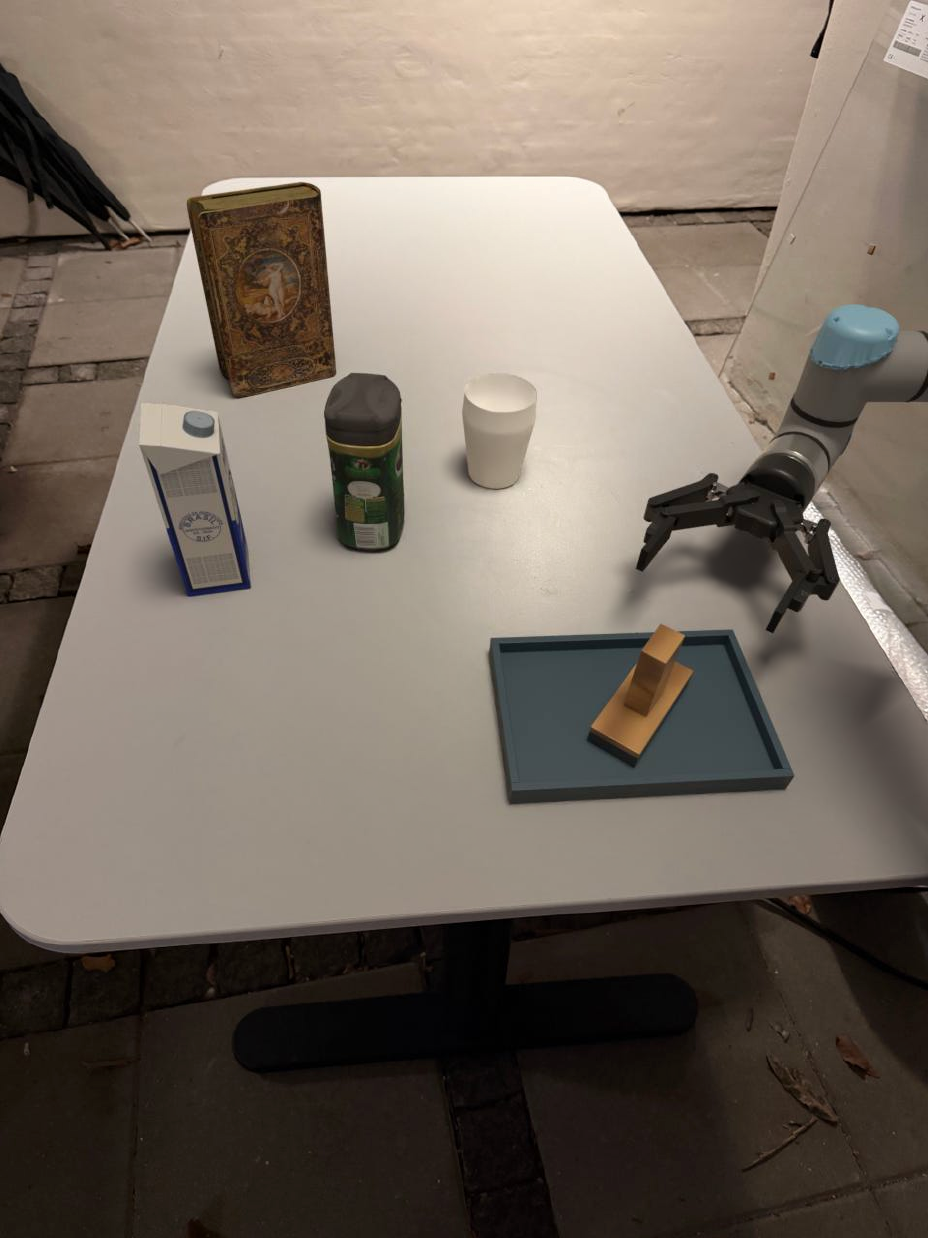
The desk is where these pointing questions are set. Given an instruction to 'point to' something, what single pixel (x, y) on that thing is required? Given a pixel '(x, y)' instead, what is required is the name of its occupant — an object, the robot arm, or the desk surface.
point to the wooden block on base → (643, 699)
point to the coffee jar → (366, 460)
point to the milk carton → (195, 496)
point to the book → (266, 285)
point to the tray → (581, 688)
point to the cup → (497, 427)
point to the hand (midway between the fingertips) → (705, 590)
